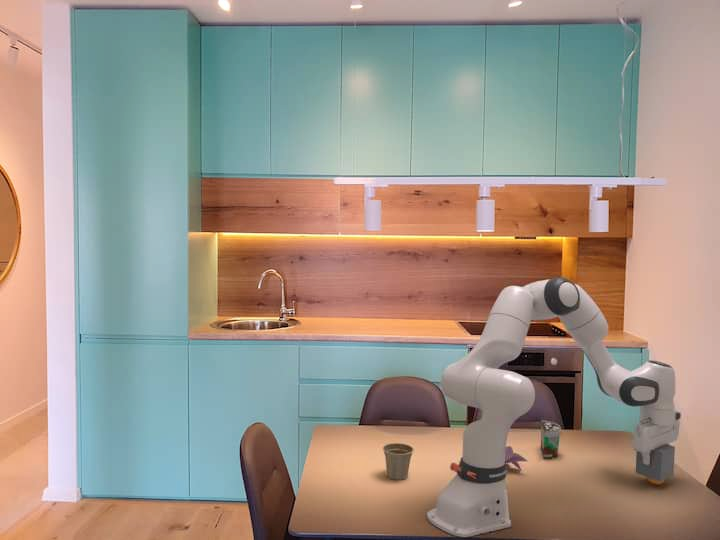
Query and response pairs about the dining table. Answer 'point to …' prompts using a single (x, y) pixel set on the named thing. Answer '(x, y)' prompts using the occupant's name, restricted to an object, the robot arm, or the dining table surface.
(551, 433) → the food container
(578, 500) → the dining table surface
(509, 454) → the lily
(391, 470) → the flower pot
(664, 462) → the gray rectangular box
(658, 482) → the ball
